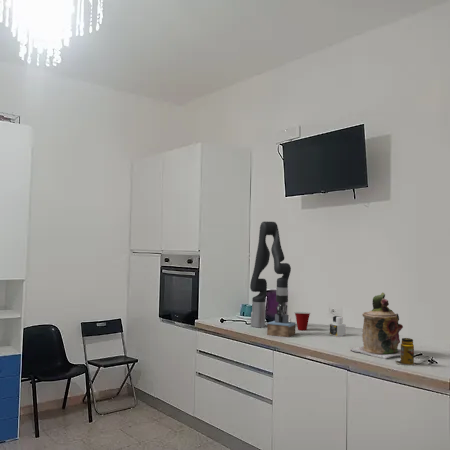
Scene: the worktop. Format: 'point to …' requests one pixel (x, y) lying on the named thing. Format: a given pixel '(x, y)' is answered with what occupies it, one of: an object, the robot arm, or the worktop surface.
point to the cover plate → (284, 321)
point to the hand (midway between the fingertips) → (281, 321)
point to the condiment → (407, 352)
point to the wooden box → (280, 330)
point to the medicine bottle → (337, 326)
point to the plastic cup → (302, 320)
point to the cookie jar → (380, 330)
